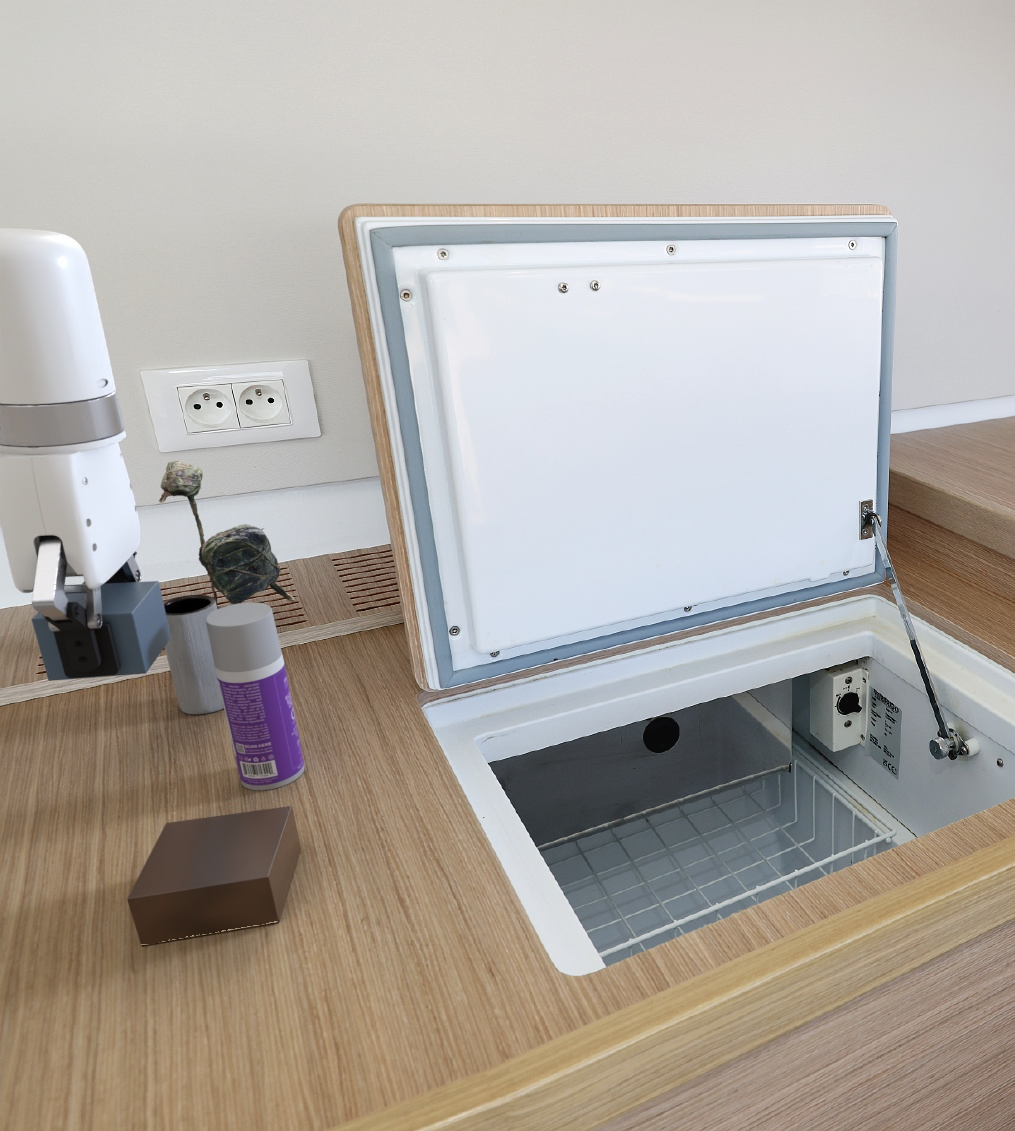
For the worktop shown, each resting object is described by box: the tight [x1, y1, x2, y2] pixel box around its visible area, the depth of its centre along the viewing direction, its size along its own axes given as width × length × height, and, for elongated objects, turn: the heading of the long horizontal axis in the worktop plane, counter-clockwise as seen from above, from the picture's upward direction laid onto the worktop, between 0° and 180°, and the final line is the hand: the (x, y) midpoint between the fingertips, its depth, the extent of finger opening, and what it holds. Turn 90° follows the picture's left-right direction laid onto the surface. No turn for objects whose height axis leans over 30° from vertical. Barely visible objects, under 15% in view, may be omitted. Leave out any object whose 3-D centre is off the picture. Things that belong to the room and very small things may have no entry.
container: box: [206, 602, 306, 791], centre depth 77 cm, size 5×5×15 cm
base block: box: [126, 805, 302, 945], centre depth 66 cm, size 8×8×4 cm
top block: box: [31, 580, 171, 682], centre depth 70 cm, size 6×6×5 cm
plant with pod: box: [158, 460, 295, 609], centre depth 99 cm, size 8×11×20 cm
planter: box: [163, 594, 224, 715], centre depth 87 cm, size 4×4×10 cm
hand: (110, 651), depth 71 cm, fingers closed on top block, 6 cm apart
